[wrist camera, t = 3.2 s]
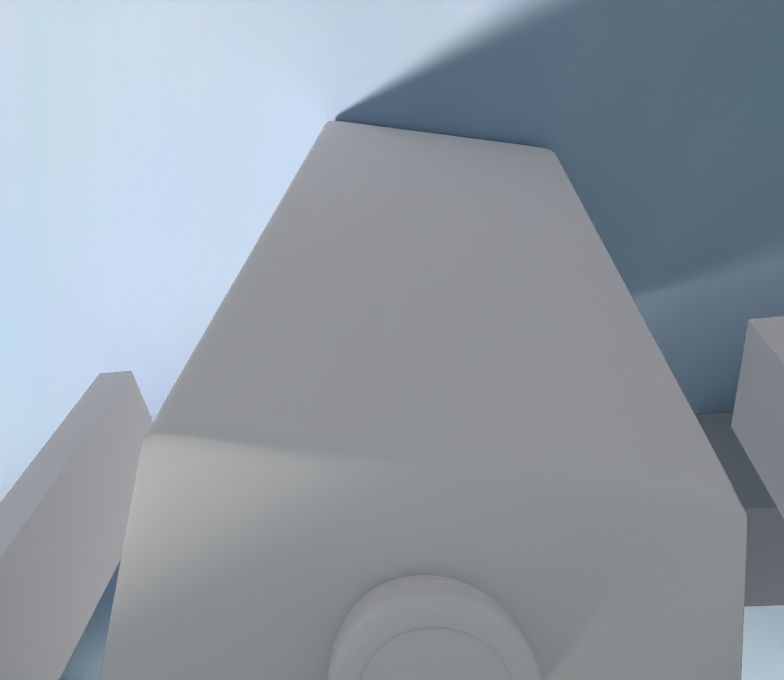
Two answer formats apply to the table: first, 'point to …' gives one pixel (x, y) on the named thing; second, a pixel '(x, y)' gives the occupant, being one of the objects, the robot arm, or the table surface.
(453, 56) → the table surface
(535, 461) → the milk carton
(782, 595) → the slate grey block
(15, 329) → the table surface
